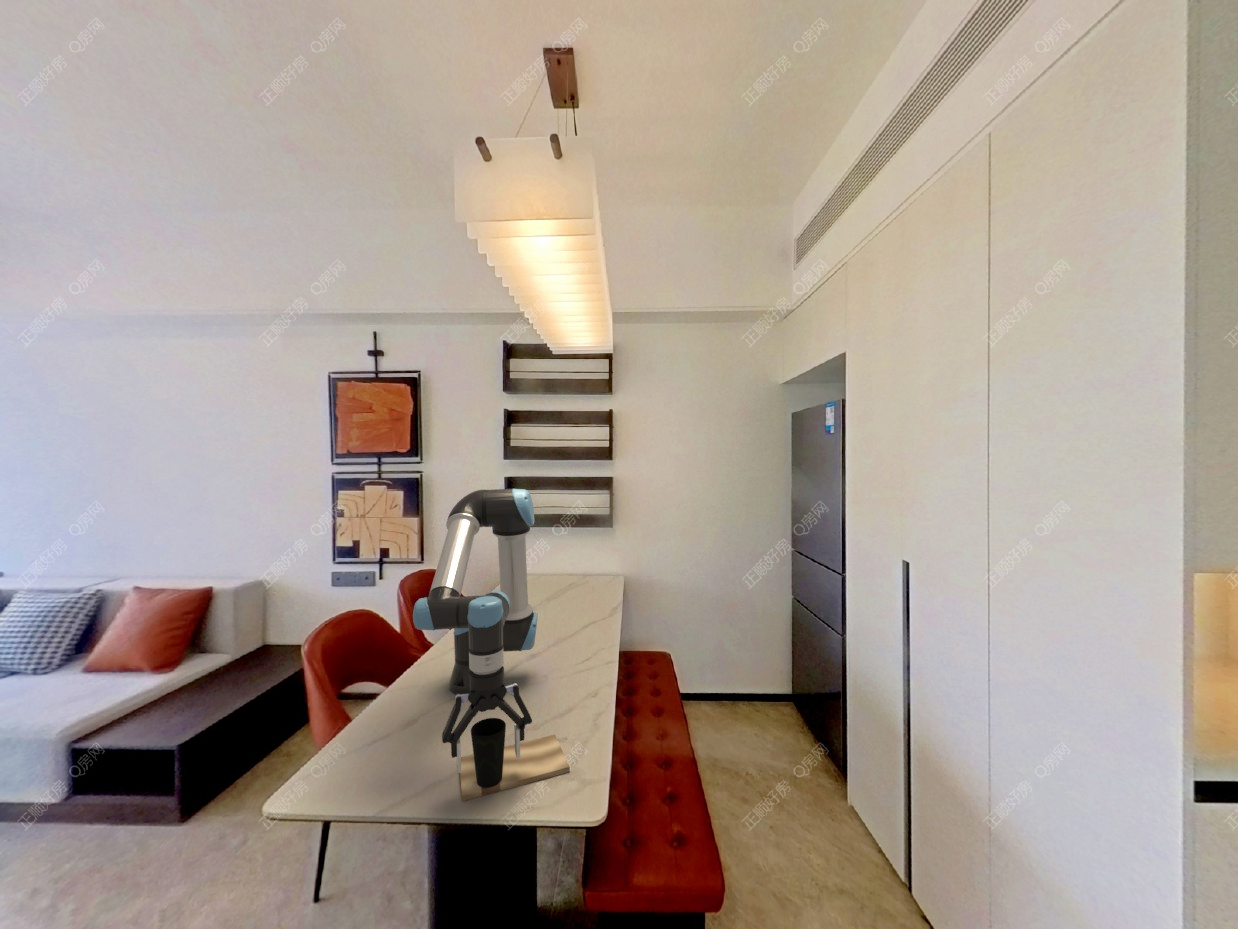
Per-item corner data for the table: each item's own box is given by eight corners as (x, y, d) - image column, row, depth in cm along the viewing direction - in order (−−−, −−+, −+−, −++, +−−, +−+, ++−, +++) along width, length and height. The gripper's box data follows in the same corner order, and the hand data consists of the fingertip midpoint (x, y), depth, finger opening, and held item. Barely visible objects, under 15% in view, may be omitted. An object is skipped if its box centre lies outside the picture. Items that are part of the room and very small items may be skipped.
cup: (510, 767, 111) (508, 717, 111) (503, 790, 103) (501, 736, 103) (477, 768, 111) (475, 718, 111) (467, 792, 103) (466, 737, 103)
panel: (458, 762, 115) (458, 757, 115) (555, 739, 124) (554, 734, 124) (462, 801, 102) (462, 795, 102) (569, 771, 111) (569, 766, 111)
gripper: (428, 686, 98) (431, 787, 99) (543, 664, 108) (545, 758, 108) (428, 671, 105) (431, 766, 106) (536, 652, 115) (538, 739, 115)
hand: (488, 762), depth 107 cm, fingers open, 12 cm apart
